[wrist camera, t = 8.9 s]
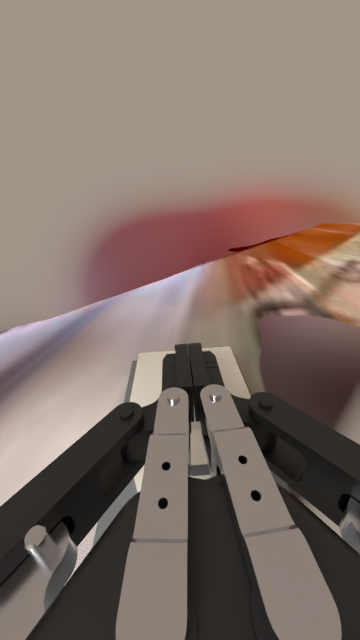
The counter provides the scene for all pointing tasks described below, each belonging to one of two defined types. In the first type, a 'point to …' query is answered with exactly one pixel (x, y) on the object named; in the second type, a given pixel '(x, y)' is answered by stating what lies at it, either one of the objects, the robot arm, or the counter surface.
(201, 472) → the off-white cube
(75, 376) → the counter surface
